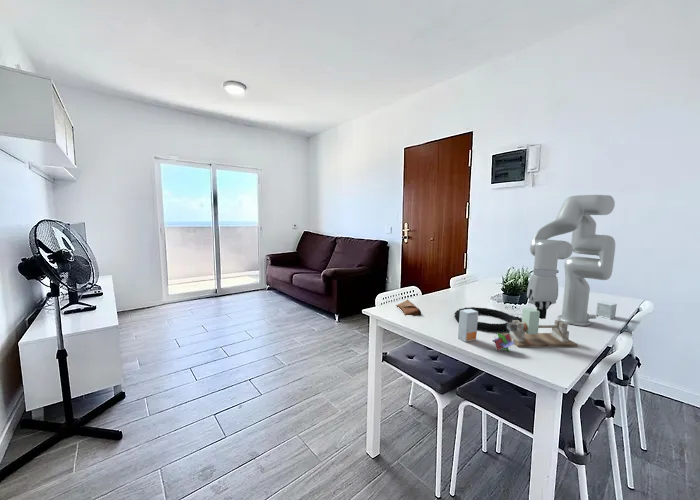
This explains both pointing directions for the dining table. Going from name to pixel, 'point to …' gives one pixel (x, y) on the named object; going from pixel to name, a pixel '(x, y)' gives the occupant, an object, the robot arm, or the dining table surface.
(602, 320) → the dining table surface
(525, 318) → the sleeve
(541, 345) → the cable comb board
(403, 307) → the sunglasses case
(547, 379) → the dining table surface
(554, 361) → the dining table surface
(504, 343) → the geometric puzzle
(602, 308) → the skincare box
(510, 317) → the cable lock
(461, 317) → the skincare box
